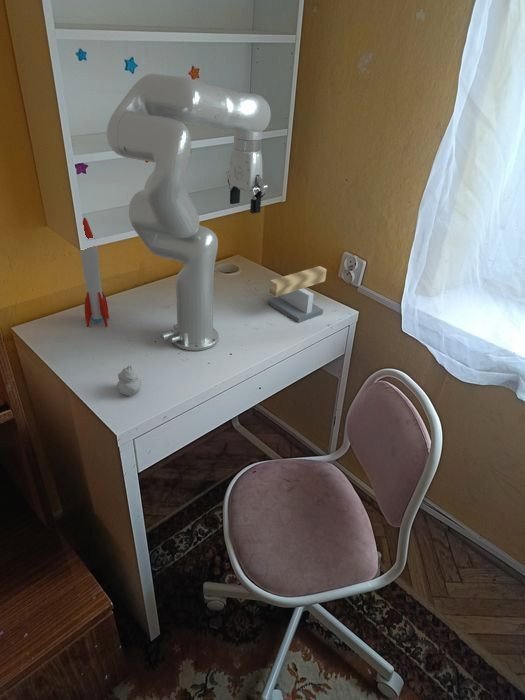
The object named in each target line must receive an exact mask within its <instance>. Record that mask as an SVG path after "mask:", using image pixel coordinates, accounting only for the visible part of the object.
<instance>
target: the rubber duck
mask: <svg viewBox="0 0 525 700" xmlns="http://www.w3.org/2000/svg"><path fill="white" fill-rule="evenodd" d="M117 377H118V380H119V381H118V382H117V383H116V389H117V391H119V393H121V394H122V395H125V396H127V397H128V396H133V395H136V394H138V393H139V392H140V390H141V386H142V381H141V378H140V377H139V376H137V373H136V370H135V369H134V368H133V367H132V365H130V364H128V365H127V367H124V368H123V369H122V370H121V372H119V373H118V374H117Z"/></svg>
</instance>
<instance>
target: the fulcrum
mask: <svg viewBox="0 0 525 700" xmlns="http://www.w3.org/2000/svg"><path fill="white" fill-rule="evenodd" d="M267 304H268V305H269V306H270V307H273V308H274V309H276V310H277V311H278V312H281V313H282V314H283V315H285V316H287V317H288V318H290V319H292V320H293V321H295V322H296V323H298V324H299V323H301V322H302V323H303V322H304V321H307V320H311V319H312V318H317V317H319V316H321V315H323V313H324V309H322V308H321V307H319V306H317V305H316V304H314V293H313V292H311V291H309V290H307V289H305V288H302V289H299V290H296V291H293V292H290V293H287V294H283V295H280V296H277V297H273V298H269V299H268V303H267Z"/></svg>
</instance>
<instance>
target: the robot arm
mask: <svg viewBox="0 0 525 700" xmlns="http://www.w3.org/2000/svg"><path fill="white" fill-rule="evenodd" d="M271 113H272V112H271V108H270V104H269V103H268V101H267V100H266V99H265V98H264V97H263V96H262V95H260V94H257V93H247V92H246V93H245V92H240V91H235V90H233V89H232V90H231V89H229V88H226V87H221V86H218V85H217V86H216V85H215V84H214V85H213V84H209V83H206V82H203V81H199V80H197V79H193V78H190V77H184V76H176V75H168V74H159V73H147V74H145V75H144V76H142V77H141V78H139V80H137V81H136V82H135V83H134V84H133V86H132V87H131V88H130V89H129V91H128V92H127V94H126V95H125V96H124V98H123V99H122V100H121V101H120V103H119V105H117V107H116V109H115V110H114V111H113V113H112V115H111V116H110V118H109V120H108V124H107V127H106V140H107V143H108V144H109V145H108V146H109V147H110V149H111V150H112V151H113V152H114V153H115V154H116V155H119V156H121V157H123V158H126V159H132V160H133V159H134V160H138V161H139V160H140V161H145V162H150V163H154V164H155V166H154V169H153V171H152V172H151V173H150V174H149V176H148V177H147V179H146V181H145V184H144V187H143V189H142V190H141V189H140V190H139V191H137V192H136V193H134V195H133V196H132V197H131V200H130V202H129V205H128V217H129V220H130V225H131V226H132V228H133V230H134V231H135V233H136V234H137V235H138V237H139V238H140V240H141V241H142V243H143V244H144V246H146V248H147V249H148V251H150V252H151V253H152V254H153V255H155V256H157V257H159V258H163V259H167V260H171V261H176V262H179V263H182V264H183V267H182V268H181V269H180V270H179V272H178V273H177V275H176V277H175V297H176V298H175V301H176V302H175V303H176V324H175V323H174V324H173V329H171V330H170V331H166V332H162V333H160V338H161V340H162V341H163V342H165V341H167V340H170V343H172V344H174V345H175V346H176V347H178V348H180V349H183V350H185V351H186V350H187V351H193V352H194V351H204V350H208V349H210V348H212V347H214V346H216V344H217V343H218V341H219V336H220V335H219V331H217V329H215V328H214V278H215V277H214V273H215V263H216V259H217V253H218V249H219V239H218V236H217V234H216V233H215V232H214V231H213V230H212V229H210V228H209V227H207V226H202V225H200V217H199V216H200V215H199V213H198V210H197V208H196V205H195V204H194V202H193V200H192V198H191V196H190V194H189V192H188V190H187V187H186V185H185V177H186V172H187V169H188V163H189V160H190V155H191V151H192V138H191V134H190V131H189V129H188V127H187V126H186V125H191V126H192V125H193V126H199V127H205V128H206V127H207V128H212V129H213V128H214V129H223V130H224V129H225V130H227V129H228V130H233V148H231V152H230V153H231V154H230V157H229V158H230V159H229V160H230V161H229V169H228V170H227V171H226V178H227V183H228V189H229V205H235V204H240V203H241V190H242V191H245V192H249V193H250V195H251V197H252V198H251V199H250V207H249V208H250V211H249V212H250V214H254V215H255V214H258V213H259V214H260V213H261V205H262V204H261V203H262V200H263V198H264V196H265V194H266V191H267V189H268V185H267V183H265V181H264V180H263V171H264V170H263V155H262V143H263V131H265V130H266V128H267V127H268V126H269V124H270V122H271V118H272V115H271Z"/></svg>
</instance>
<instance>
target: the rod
mask: <svg viewBox="0 0 525 700" xmlns="http://www.w3.org/2000/svg"><path fill="white" fill-rule="evenodd" d="M326 277H327V268H325V267H323V266H321V265H318V266H315V267H311V268H307V269H305V270H302V271H298V272H295V273H290V274H288V275H284V276H281V277H277V278H274V279H273V278H272V279H271V280H270V281H269V294H270V295H272V296H274V298H276V297H279V296H281V295H283V294H287V293H290V292H293V291H296V290H299V289H302V288H304V289H305V288H308V287H311V286H314V285H315V286H316V285H318V284H320V283H324V282H325V281H326Z"/></svg>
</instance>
